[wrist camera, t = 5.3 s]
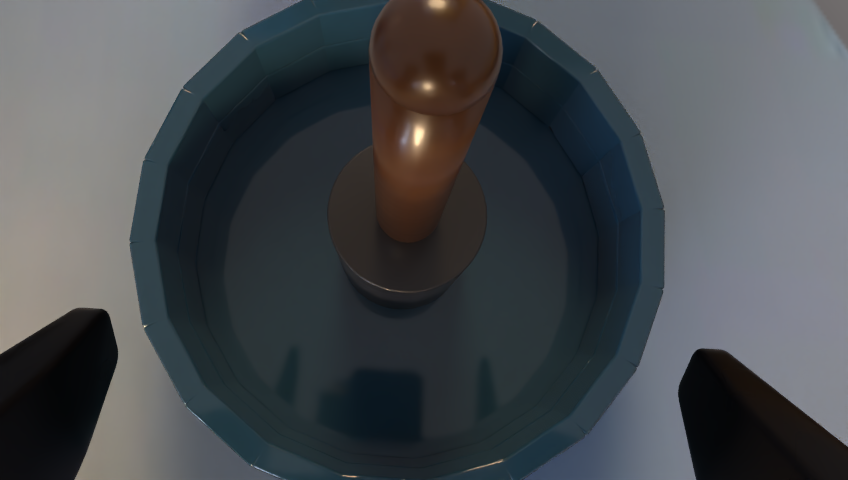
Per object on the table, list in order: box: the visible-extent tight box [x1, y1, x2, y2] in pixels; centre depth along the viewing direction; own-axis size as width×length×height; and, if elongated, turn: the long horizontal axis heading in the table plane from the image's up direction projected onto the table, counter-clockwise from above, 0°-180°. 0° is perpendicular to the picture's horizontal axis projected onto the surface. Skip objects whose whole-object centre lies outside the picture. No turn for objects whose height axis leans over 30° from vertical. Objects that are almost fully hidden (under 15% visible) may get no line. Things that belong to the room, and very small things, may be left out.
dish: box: [130, 0, 665, 480], centre depth 19 cm, size 14×14×4 cm
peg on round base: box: [327, 0, 503, 309], centre depth 14 cm, size 4×4×14 cm
